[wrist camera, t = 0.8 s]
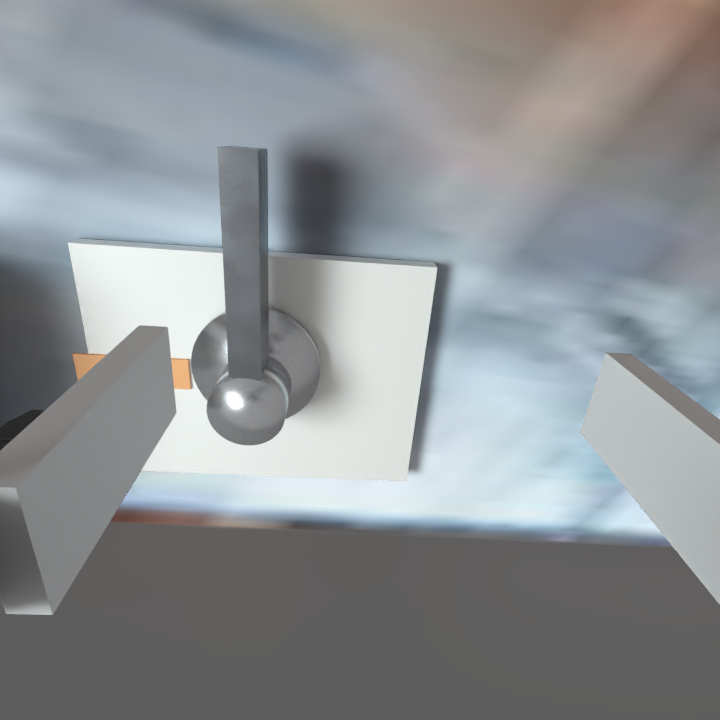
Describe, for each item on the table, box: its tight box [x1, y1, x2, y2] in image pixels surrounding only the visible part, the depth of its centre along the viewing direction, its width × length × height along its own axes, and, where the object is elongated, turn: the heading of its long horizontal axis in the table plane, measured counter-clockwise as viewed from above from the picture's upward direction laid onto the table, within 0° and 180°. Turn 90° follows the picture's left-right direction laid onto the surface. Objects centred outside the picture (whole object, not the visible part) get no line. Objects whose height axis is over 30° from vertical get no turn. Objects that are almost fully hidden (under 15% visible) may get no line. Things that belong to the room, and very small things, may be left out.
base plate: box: [68, 238, 437, 481], centre depth 35 cm, size 25×18×2 cm
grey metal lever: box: [191, 146, 321, 445], centre depth 30 cm, size 19×9×5 cm, turn 176°
